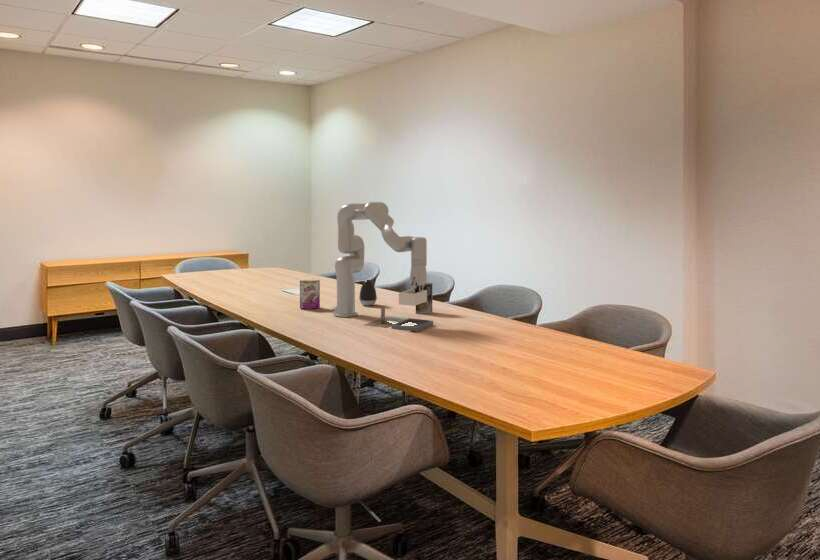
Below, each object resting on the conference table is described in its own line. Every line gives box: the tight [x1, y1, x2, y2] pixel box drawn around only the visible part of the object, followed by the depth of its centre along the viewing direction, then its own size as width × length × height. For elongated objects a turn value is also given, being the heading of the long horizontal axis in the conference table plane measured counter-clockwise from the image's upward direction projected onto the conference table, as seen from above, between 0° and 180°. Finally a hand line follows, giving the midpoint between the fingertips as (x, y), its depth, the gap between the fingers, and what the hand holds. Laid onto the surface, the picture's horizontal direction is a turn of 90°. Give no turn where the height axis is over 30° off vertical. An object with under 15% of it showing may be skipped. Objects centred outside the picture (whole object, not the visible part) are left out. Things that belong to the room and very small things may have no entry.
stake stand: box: [363, 308, 393, 329], centre depth 302 cm, size 13×17×8 cm
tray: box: [390, 317, 434, 333], centre depth 297 cm, size 13×19×2 cm
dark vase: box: [358, 279, 378, 307], centre depth 356 cm, size 10×10×15 cm
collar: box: [398, 288, 427, 307], centre depth 295 cm, size 8×14×6 cm, turn 154°
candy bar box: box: [299, 278, 321, 310], centre depth 345 cm, size 11×5×16 cm, turn 98°
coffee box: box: [415, 282, 433, 315], centre depth 333 cm, size 9×6×16 cm
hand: (418, 299), depth 301 cm, fingers closed on collar, 1 cm apart
